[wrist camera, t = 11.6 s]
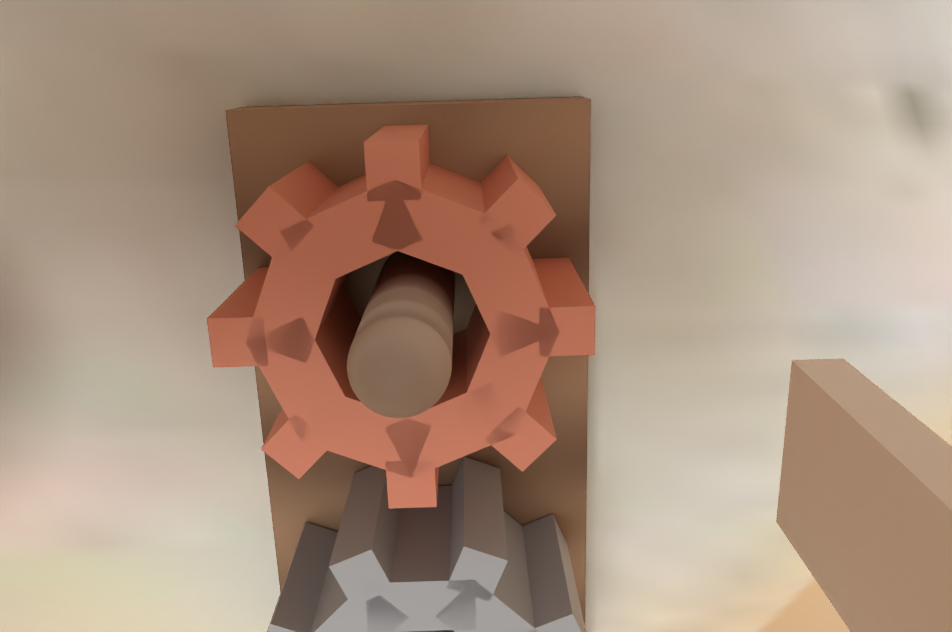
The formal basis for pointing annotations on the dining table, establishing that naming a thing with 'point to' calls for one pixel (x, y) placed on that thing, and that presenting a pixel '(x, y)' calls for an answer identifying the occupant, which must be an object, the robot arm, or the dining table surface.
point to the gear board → (474, 158)
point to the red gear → (336, 318)
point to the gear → (430, 565)
